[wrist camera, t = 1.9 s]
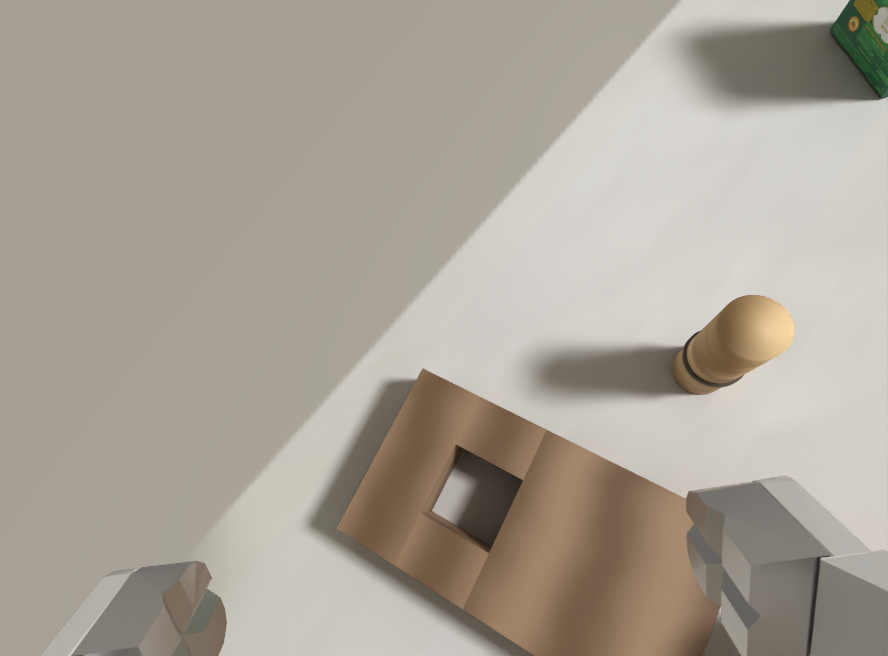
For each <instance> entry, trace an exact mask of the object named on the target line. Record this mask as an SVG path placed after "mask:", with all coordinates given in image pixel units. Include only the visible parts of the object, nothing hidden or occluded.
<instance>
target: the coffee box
mask: <svg viewBox="0 0 888 656" xmlns="http://www.w3.org/2000/svg"><path fill="white" fill-rule="evenodd" d="M830 31H831V32H832V34H833V35H834V36H835V37H836V39H837V40H838V42H839V45H840V46H841V47H842V48H843V49H845V50H846V52H847V53H848V54H849V56H850V57H851V58H852V60H853V61H854V63H855V64H856V65H857V66H858V68H859V69H860V70H861V72H862V73H863V74H864V75H865V77H866V79H867V81H868V82H869V84H870V85H871V86H872V87H874V89H875V90H876V92H877V93H878V94H879V95H880V97H881V98H885V97H888V0H850V1H849V2H848V4H847V5H846V7H845V8H844V10H843V11H842V13H841V14H840V16H839V17H838V19H837V20H836V22H835V23H834V25H833V26H832V28H831V29H830Z"/></svg>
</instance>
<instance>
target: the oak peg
mask: <svg viewBox="0 0 888 656" xmlns="http://www.w3.org/2000/svg"><path fill="white" fill-rule="evenodd" d="M793 338H794V323H793V320H792V318H791V316H790V314H789V313H788V312H787V310H786V309H785V308H784V307H783V306H782V305H780V304H779V303H778V302H776V301H774V300H772V299H770V298H767V297H764V296H759V295H747V296H742V297H739V298H737V299H735V300H733V301H732V302H730V303H729V304H728V305H727V306H726V307H725V308H724V309H723V310H722V311H721V312H720V313H719V314H718V315H717V316H716V317H715V318H714V319H713V320H712V321H711V322H710V323H708V324H707V325H706V326H705V327H704V328H703V329H702V330H701V331H699V332H697V333H695V334H694V335H693V336H692V337H691V338H690V339H689V340H688V341H687V342H686V344H685V346H684V348H683V349H682V350H681V351H680V352H679V353H678V354H677V355H676V356H675V358H674V360H673V363H672V373H673V376H674V378H675V380H676V382H677V383H678V384H679V385H680V386H681V387H682V388H683V389H685V390H686V391H688V392H691V393H694V394H709V393H712V392H714V391H716V390H717V389H719V388H721V387H726V386H729V385H731V384H733V383H735V382H737V381H738V380H740V379H741V378H742V377H743V376H744V374H746V373H748V372H749V371H751V370H753V369H755V368H757V367H758V366H760V365H762V364H764V363H765V362H767V361H769V360H771V359H773V358H774V357H776V356H778V355H780V354H781V353H783V352H784V351H786V350H787V348H788V347H789V346H790V345H791V343H792V341H793Z"/></svg>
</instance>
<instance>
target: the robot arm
mask: <svg viewBox="0 0 888 656" xmlns="http://www.w3.org/2000/svg"><path fill="white" fill-rule="evenodd" d="M686 512H687V514H688V515H689V517H690V518H691V520H692V521H693V523H694V524H693V526H692V527H691V528H690V530H689V531H688V532H687V534H686V537H687V552H688V556H689V560H690V563H691V567H692V570H693V572H694V575H695V577H696V579H697V582H698V584H699V585H700V587H701V589H702V591H703V592H704V594H705V596H706V597H708V598H709V599H711V600H712V601H714V602H715V603H717V604H719V605H720V606H721V623H722V625H723V626H724V628H725V630H726V631H727V633H728V635H729V636H730V638H731V640H732V641H733V643H734V645H735V646H736V648H737V650H738V651H739V653H740V655H741V656H888V552H887V551H885V550H879V551H871V550H870V549H869V548H868V547H867V546H866V545H865V544H864V543H862V542H861V541H860V540H859V539H858V538H857V537H856V536H855V535H854V534H853V533H852V532H851V531H849V530H848V529H847V528H846V527H845V526H844V525H843V524H842V523H841V522H840V521H839V520H837V519H836V518H835V517H834V516H833V515H832V514H831V513H830V512H829V511H828V510H827V509H826V508H824V507H823V506H822V505H821V504H820V503H819V502H818V501H817V500H816V499H815V498H814V497H813V496H811V495H810V494H809V493H808V492H807V491H806V490H805V489H804V488H803V487H802V486H801V485H800V484H798V483H797V482H796V481H795V480H794V479H792V478H790V477H787V476H780V477H774V478H768V479H762V480H756V481H752V482H747V483H740V484H733V485H727V486H720V487H713V488H706V489H700V490H693V491H689V492H688V495H687V498H686ZM211 579H212V577H211V575H210V573H209V571H208V569H207V567H206V565H205V563H202V562H198V561H192V562H184V563H176V564H167V565H158V566H149V567H142V568H139V569H130V570H121V571H114V572H112V573H110V574H108V575H106V576H105V577H103V578H102V579H101V581H100V582H99V583H98V585H97V586H96V587H95V588H94V589H93V591H92V592H91V593H90V594H89V596H88V597H87V598H86V599H85V601H84V602H83V603H82V604H81V606H80V607H79V608H78V609H77V611H76V612H75V613H74V614H73V616H72V617H71V618H70V619H69V621H68V622H67V623H66V624H65V626H64V627H63V628H62V629H61V631H60V632H59V633H58V634H57V636H56V637H55V638H54V639H53V641H52V642H51V643H50V644H49V646H48V647H47V648H46V649H45V650H44V652H43V653H42V654H41V656H218V655H219V653H220V650H221V648H222V646H223V643H224V638H225V631H226V624H227V622H226V614H225V608H224V606H223V603H222V601H221V598H220V597H218V596H217V595H216V594H214V593H213V592H211V591H210V590H208V586H209V584H210V581H211Z"/></svg>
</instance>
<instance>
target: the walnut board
mask: <svg viewBox="0 0 888 656" xmlns="http://www.w3.org/2000/svg"><path fill="white" fill-rule="evenodd" d="M463 449H465V450H467V451H469V452H471V453H472V454H474V455H476V456H478V457H480V458H482V459H484V460H485V461H487V462H489V463H491V464H493V465H495V466H497V467H499V468H500V469H502V470H504V471H506V472H508V473H510V474H512V475H513V476H515V477H517V478H519V479H521V480H523V482H522V484H521V486H520V488H519V490H518V492H517V494H516V497H515V499H514V501H513V503H512V505H511V507H510V509H509V511H508V514H507V516H506V518H505V520H504V522H503V524H502V526H501V529H500V531H499V533H498V535H497V537H496V539H495V541H494V543H493V546H490V545H488V544H486V543H485V542H483V541H481V540H480V539H478V538H476V537H475V536H473V535H471V534H470V533H468V532H466V531H464V530H463V529H461V528H459V527H458V526H456V525H454V524H453V523H451V522H449V521H447V520H446V519H444V518H442V517H441V516H439V515H437V514H436V513H434V512H432V509H433V507H434V505H435V503H436V501H437V499H438V497H439V495H440V493H441V491H442V489H443V487H444V485H445V483H446V481H447V479H448V477H449V475H450V473H451V471H452V469H453V467H454V465H455V463H456V461H457V459H458V457H459V455H460V453H461V451H462V450H463ZM693 524H694V523H693V521H692V520H691V518H690V517H689V515H688V514H687V512H686V499H685V498H683V497H681V496H679V495H677V494H675V493H673V492H671V491H669V490H667V489H665V488H663V487H661V486H659V485H657V484H655V483H653V482H651V481H649V480H647V479H645V478H643V477H641V476H639V475H637V474H635V473H633V472H631V471H629V470H627V469H625V468H623V467H621V466H619V465H616V464H614V463H612V462H610V461H608V460H606V459H604V458H602V457H600V456H598V455H596V454H594V453H592V452H590V451H588V450H586V449H584V448H582V447H580V446H578V445H576V444H574V443H572V442H570V441H568V440H566V439H564V438H562V437H560V436H558V435H556V434H554V433H552V432H550V431H548V430H546V429H544V428H542V427H540V426H538V425H536V424H534V423H532V422H530V421H528V420H526V419H524V418H522V417H520V416H518V415H516V414H514V413H512V412H510V411H508V410H505V409H503V408H501V407H499V406H497V405H495V404H493V403H491V402H489V401H487V400H485V399H483V398H481V397H479V396H477V395H475V394H473V393H471V392H469V391H467V390H465V389H463V388H461V387H459V386H457V385H455V384H453V383H451V382H449V381H447V380H445V379H443V378H441V377H439V376H437V375H435V374H433V373H431V372H429V371H427V370H425V369H422V370H421V372H420V374H419V376H418V378H417V380H416V382H415V383H414V385H413V387H412V389H411V391H410V393H409V395H408V396H407V398H406V400H405V402H404V404H403V406H402V408H401V409H400V411H399V413H398V415H397V417H396V419H395V421H394V422H393V424H392V426H391V428H390V430H389V432H388V434H387V435H386V437H385V439H384V441H383V443H382V445H381V447H380V448H379V450H378V452H377V454H376V456H375V458H374V460H373V461H372V463H371V465H370V467H369V469H368V471H367V473H366V474H365V476H364V478H363V480H362V482H361V484H360V486H359V488H358V489H357V491H356V493H355V495H354V497H353V499H352V501H351V502H350V504H349V506H348V508H347V510H346V512H345V514H344V515H343V517H342V519H341V521H340V523H339V525H338V527H337V529H338V530H340V531H341V532H343V533H344V534H346V535H347V536H349V537H351V538H352V539H354V540H355V541H357V542H358V543H360V544H361V545H363V546H365V547H366V548H368V549H369V550H371V551H372V552H374V553H375V554H377V555H379V556H380V557H382V558H383V559H385V560H386V561H388V562H389V563H391V564H393V565H394V566H396V567H397V568H399V569H400V570H402V571H403V572H405V573H407V574H408V575H410V576H411V577H413V578H414V579H416V580H417V581H419V582H421V583H422V584H424V585H425V586H427V587H428V588H430V589H431V590H433V591H435V592H436V593H438V594H439V595H441V596H442V597H444V598H445V599H447V600H449V601H450V602H452V603H453V604H455V605H456V606H458V607H459V608H461V609H463V610H464V611H466V612H467V613H469V614H470V615H472V616H473V617H475V618H477V619H478V620H480V621H481V622H483V623H484V624H486V625H487V626H489V627H491V628H492V629H494V630H495V631H497V632H498V633H500V634H501V635H503V636H505V637H506V638H508V639H509V640H511V641H512V642H514V643H515V644H517V645H519V646H520V647H522V648H523V649H525V650H526V651H528V652H529V653H531V654H533V655H534V656H703V653H704V650H705V648H706V645H707V642H708V639H709V637H710V634H711V631H712V628H713V626H714V623H715V620H716V617H717V615H718V612H719V609H720V605H719V604H717V603H715V602H714V601H712V600H711V599H709V598H708V597H706V596H705V594H704V592H703V591H702V589H701V587H700V585H699V584H698V582H697V579H696V577H695V575H694V572H693V570H692V567H691V563H690V560H689V556H688V552H687V537H686V534H687V532H688V531H689V530H690V528H691V527H692V526H693Z"/></svg>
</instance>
